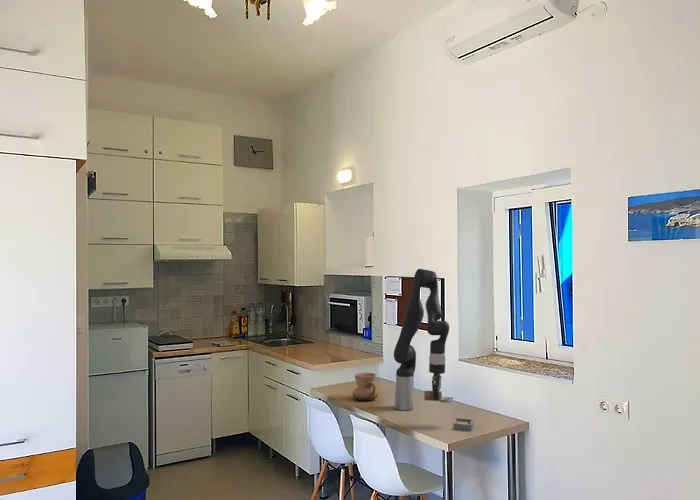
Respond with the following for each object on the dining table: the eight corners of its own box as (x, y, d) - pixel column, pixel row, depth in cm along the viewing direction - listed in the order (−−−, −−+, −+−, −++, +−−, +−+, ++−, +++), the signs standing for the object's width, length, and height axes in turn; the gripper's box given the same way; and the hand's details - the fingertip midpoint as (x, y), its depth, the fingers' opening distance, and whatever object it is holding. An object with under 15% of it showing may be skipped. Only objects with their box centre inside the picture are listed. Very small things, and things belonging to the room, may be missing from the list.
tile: (456, 428, 255) (456, 424, 255) (457, 425, 260) (457, 421, 260) (467, 429, 253) (467, 425, 253) (468, 426, 258) (468, 422, 258)
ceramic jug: (346, 397, 312) (346, 372, 313) (367, 395, 320) (367, 370, 321) (363, 404, 297) (363, 378, 298) (385, 401, 305) (385, 375, 305)
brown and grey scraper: (423, 401, 259) (423, 392, 259) (426, 397, 266) (426, 389, 266) (451, 402, 255) (450, 394, 255) (453, 399, 262) (452, 391, 262)
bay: (453, 429, 252) (453, 423, 252) (456, 422, 263) (456, 417, 263) (471, 430, 250) (471, 425, 250) (473, 424, 260) (473, 419, 260)
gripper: (431, 359, 269) (431, 395, 268) (426, 364, 256) (425, 401, 255) (447, 361, 267) (446, 396, 266) (442, 365, 254) (441, 403, 253)
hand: (436, 398), depth 261 cm, fingers closed on brown and grey scraper, 2 cm apart
